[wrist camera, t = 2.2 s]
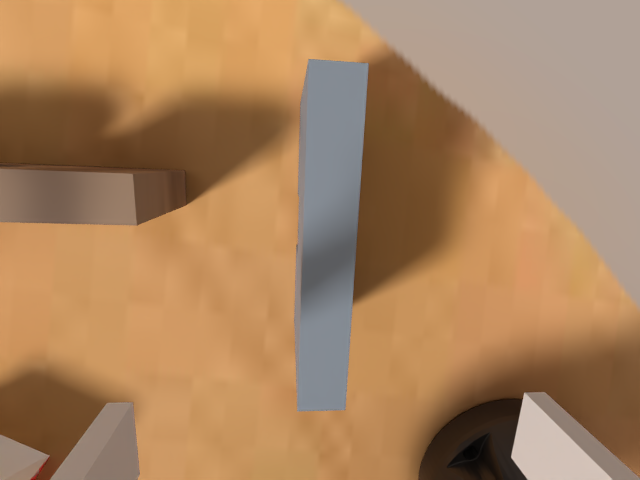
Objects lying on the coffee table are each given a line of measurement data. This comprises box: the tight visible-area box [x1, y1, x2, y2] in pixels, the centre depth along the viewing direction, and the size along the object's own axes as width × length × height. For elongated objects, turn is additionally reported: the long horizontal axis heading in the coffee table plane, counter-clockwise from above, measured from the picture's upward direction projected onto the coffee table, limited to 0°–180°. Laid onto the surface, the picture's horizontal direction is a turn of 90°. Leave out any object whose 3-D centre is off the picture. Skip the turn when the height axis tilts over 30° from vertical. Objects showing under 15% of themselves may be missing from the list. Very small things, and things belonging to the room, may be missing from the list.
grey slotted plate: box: [294, 59, 369, 411], centre depth 20 cm, size 2×16×10 cm, turn 178°
